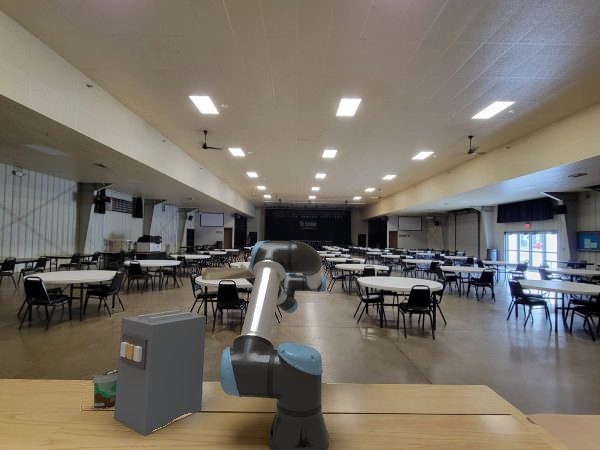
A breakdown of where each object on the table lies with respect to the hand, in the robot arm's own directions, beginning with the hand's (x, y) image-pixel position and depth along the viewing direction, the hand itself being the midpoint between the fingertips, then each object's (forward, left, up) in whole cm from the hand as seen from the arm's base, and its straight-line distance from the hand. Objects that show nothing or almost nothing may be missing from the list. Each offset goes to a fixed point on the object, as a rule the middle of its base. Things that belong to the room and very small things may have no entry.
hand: (243, 266), depth 123 cm
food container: (+20, +35, -44) cm, 60 cm away
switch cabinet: (+2, +31, -44) cm, 54 cm away
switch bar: (0, +5, -5) cm, 7 cm away
